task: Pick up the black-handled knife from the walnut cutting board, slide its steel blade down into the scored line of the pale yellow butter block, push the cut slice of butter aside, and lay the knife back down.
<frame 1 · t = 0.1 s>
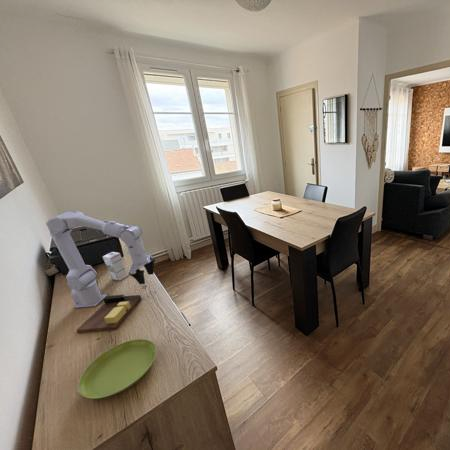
hand: (146, 278, 111), 10 cm above the table, tool pointing down, fingers open, 7 cm apart
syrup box: (120, 277, 132), on the table
butter slice: (125, 308, 105), point 1 cm above the table, touching cutting board
butter block: (116, 317, 100), point 1 cm above the table, touching cutting board
knife: (115, 301, 110), point 1 cm above the table, touching cutting board
cutting board: (112, 315, 104), on the table
saucer: (123, 372, 78), on the table
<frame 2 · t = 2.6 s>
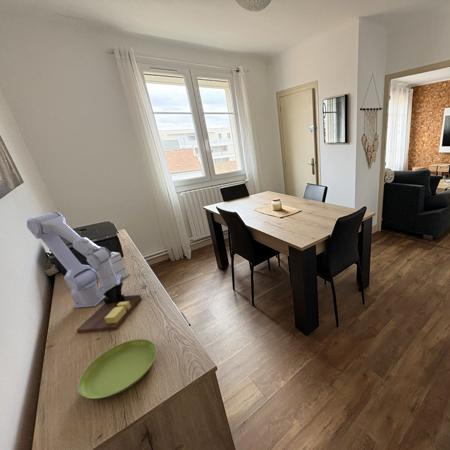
hand: (117, 299, 110), 2 cm above the table, tool pointing down, fingers closed on knife, 2 cm apart
knife: (115, 301, 110), point 2 cm above the table, touching cutting board, gripper
everything else where it was.
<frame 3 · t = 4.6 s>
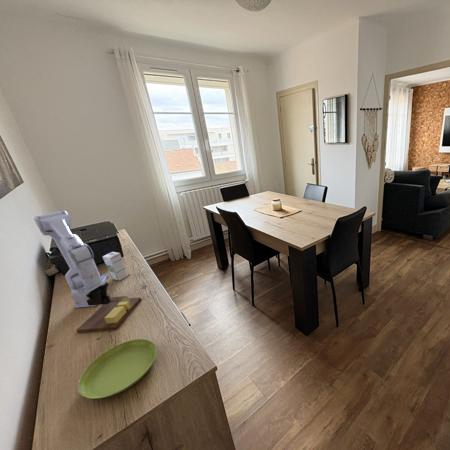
hand: (102, 301, 101), 7 cm above the table, tool pointing down, fingers closed on knife, 2 cm apart
knife: (100, 303, 102), point 6 cm above the table, touching gripper
everything else where it was.
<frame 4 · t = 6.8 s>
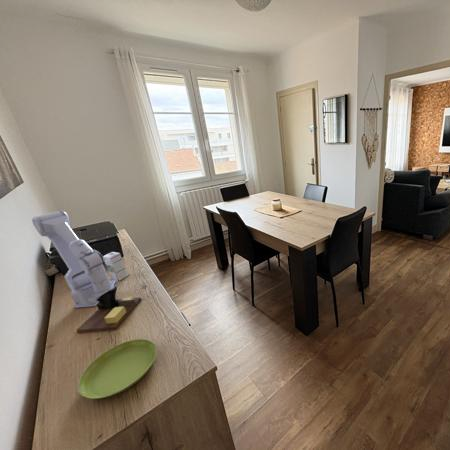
hand: (110, 305, 106), 2 cm above the table, tool pointing down, fingers closed on knife, 2 cm apart
butter slice: (129, 303, 108), point 1 cm above the table, touching cutting board, knife
knife: (109, 306, 106), point 2 cm above the table, touching butter slice, gripper
everything else where it was.
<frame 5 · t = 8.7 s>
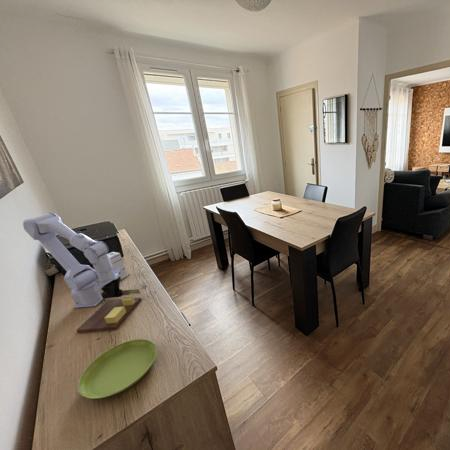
hand: (114, 294, 109), 5 cm above the table, tool pointing down, fingers closed on knife, 2 cm apart
butter slice: (129, 303, 108), point 1 cm above the table, touching cutting board
knife: (113, 296, 109), point 4 cm above the table, touching gripper
everything else where it was.
when the fingers open (2 cm above the table, at t = 9.6 s): knife stays where it is, resting on cutting board.
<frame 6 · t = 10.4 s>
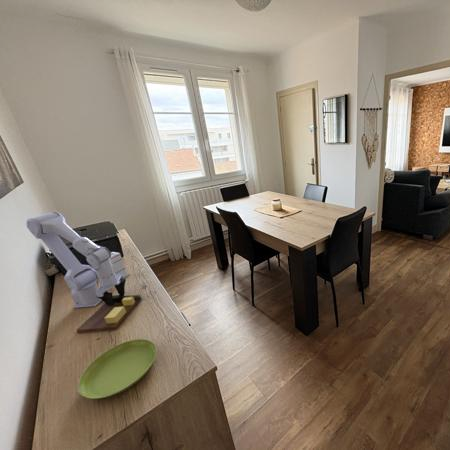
hand: (116, 299, 110), 2 cm above the table, tool pointing down, fingers open, 7 cm apart
knife: (115, 301, 110), point 1 cm above the table, touching cutting board
everything else where it was.
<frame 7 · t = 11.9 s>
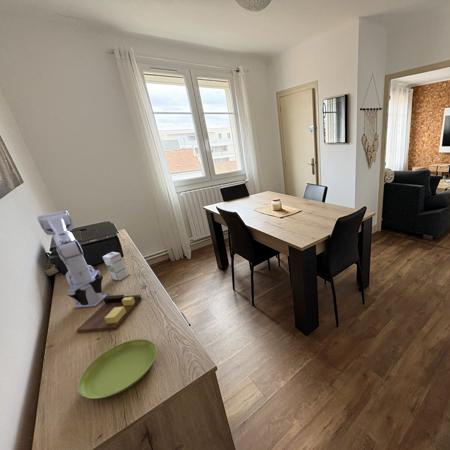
hand: (92, 298, 100), 9 cm above the table, tool pointing down, fingers open, 7 cm apart
nothing on the table moved.
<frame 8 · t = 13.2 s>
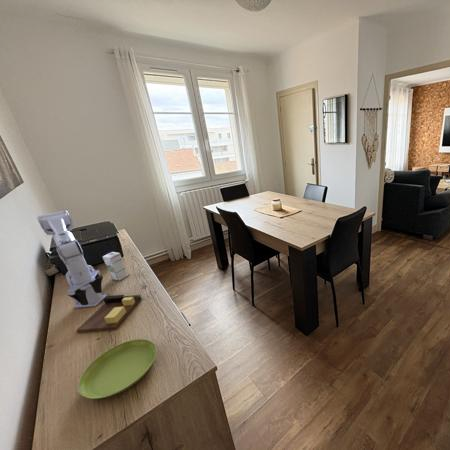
hand: (92, 298, 100), 9 cm above the table, tool pointing down, fingers open, 7 cm apart
nothing on the table moved.
at the end: butter slice 0.9 cm from the target spot, point 1.5 cm above the table; butter block moved 0.0 cm from its start; the gripper is holding nothing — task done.
